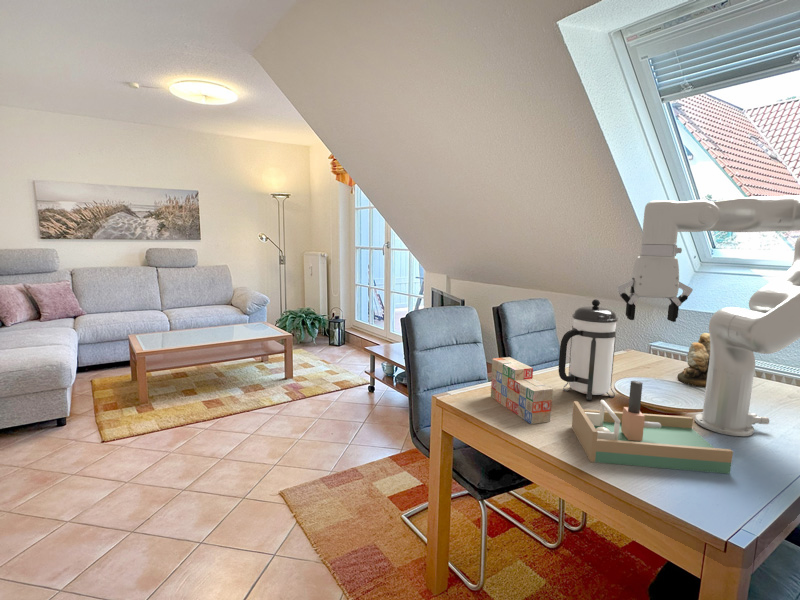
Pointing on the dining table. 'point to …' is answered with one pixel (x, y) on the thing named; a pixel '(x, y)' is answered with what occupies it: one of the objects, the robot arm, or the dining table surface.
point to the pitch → (647, 442)
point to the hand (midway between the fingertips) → (650, 320)
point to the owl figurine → (697, 363)
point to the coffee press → (590, 350)
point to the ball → (602, 429)
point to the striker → (635, 415)
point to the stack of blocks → (520, 390)
